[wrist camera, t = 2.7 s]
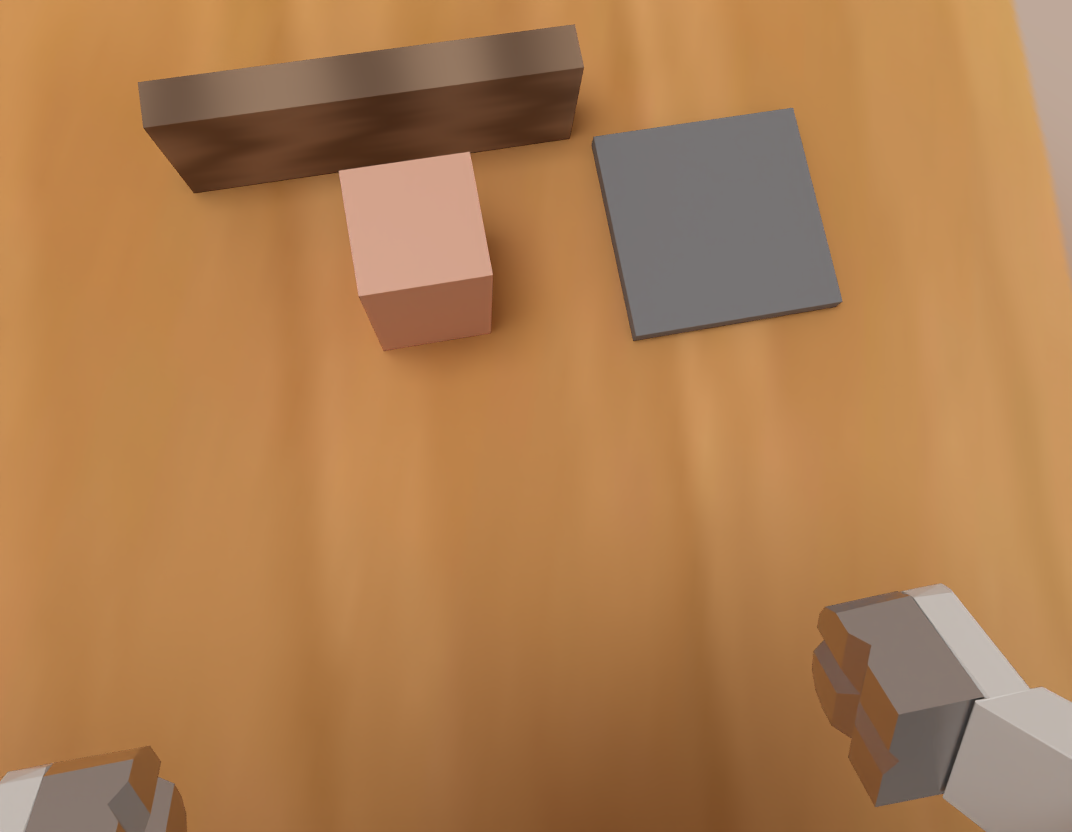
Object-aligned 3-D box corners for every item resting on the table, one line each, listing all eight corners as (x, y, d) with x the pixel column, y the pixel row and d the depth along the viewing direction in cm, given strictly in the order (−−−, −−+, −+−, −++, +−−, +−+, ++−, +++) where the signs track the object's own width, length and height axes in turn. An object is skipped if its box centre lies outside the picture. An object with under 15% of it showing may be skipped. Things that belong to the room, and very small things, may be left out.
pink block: (383, 350, 39) (358, 296, 31) (366, 244, 40) (337, 165, 32) (490, 333, 39) (492, 275, 32) (471, 228, 40) (468, 147, 32)
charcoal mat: (633, 340, 40) (636, 336, 39) (591, 145, 41) (593, 136, 41) (835, 306, 41) (842, 301, 40) (787, 116, 42) (792, 107, 41)
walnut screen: (193, 192, 40) (143, 127, 34) (188, 153, 40) (137, 82, 34) (569, 138, 41) (583, 67, 35) (561, 101, 42) (574, 24, 36)
